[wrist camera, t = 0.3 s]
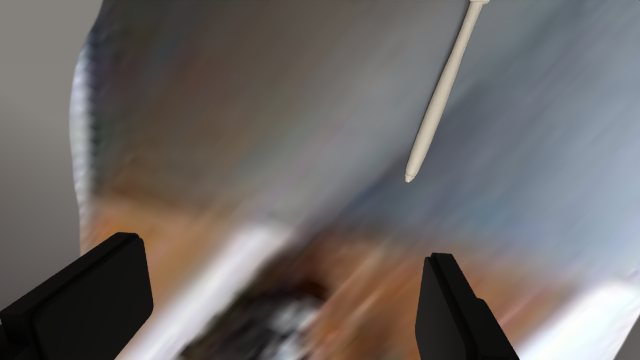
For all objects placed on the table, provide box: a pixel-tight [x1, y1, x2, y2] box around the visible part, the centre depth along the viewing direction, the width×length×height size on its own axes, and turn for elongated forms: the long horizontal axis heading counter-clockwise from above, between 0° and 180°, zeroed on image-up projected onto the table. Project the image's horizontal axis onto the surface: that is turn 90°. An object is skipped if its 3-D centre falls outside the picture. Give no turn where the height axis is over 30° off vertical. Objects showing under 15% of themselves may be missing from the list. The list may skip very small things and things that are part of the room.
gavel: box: [405, 0, 490, 182], centre depth 35 cm, size 10×6×32 cm
